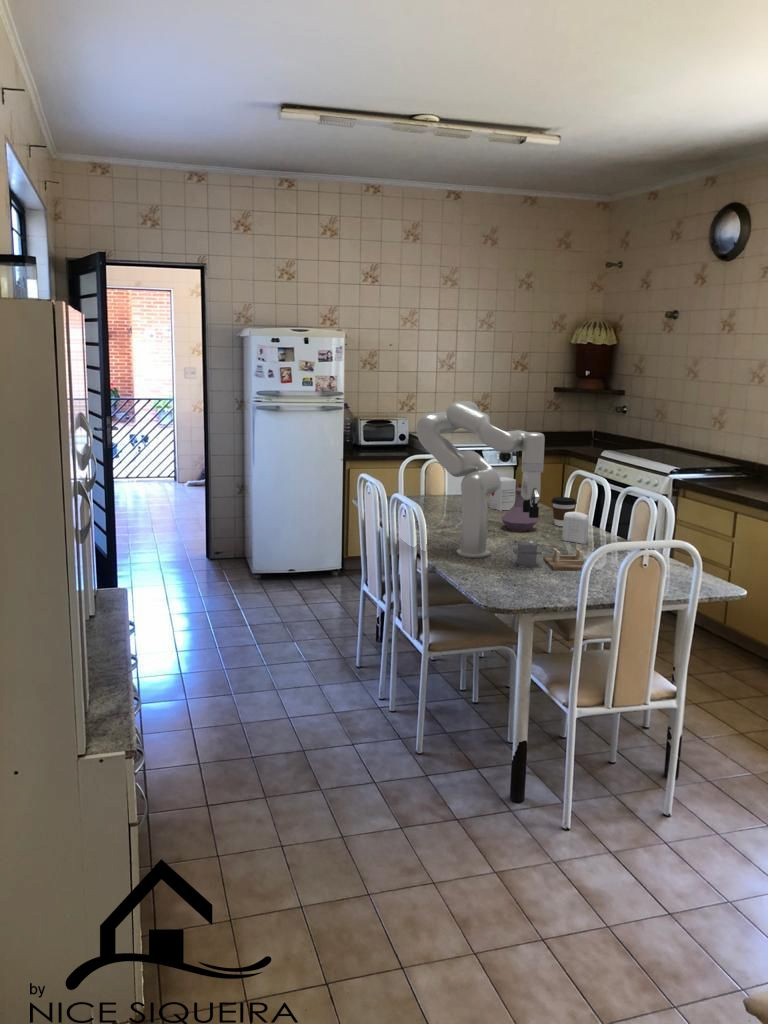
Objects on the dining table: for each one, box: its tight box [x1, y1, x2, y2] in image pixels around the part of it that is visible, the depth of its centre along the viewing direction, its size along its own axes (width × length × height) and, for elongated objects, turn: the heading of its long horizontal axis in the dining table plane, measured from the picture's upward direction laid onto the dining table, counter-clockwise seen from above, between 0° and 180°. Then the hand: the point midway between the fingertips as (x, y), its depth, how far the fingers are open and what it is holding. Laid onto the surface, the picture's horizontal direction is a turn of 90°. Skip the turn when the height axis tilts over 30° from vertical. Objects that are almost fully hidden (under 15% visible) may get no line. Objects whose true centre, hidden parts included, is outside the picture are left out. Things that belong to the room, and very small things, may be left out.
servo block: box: [512, 540, 542, 567], centre depth 295 cm, size 4×10×9 cm, turn 93°
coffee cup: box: [550, 496, 577, 527], centre depth 359 cm, size 11×11×12 cm
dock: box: [543, 547, 585, 571], centre depth 296 cm, size 14×14×6 cm
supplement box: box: [488, 476, 517, 512], centre depth 391 cm, size 9×9×15 cm
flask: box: [500, 482, 538, 532], centre depth 350 cm, size 16×16×20 cm
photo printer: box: [561, 511, 590, 545], centre depth 330 cm, size 10×4×12 cm, turn 56°
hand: (530, 514), depth 291 cm, fingers open, 9 cm apart
